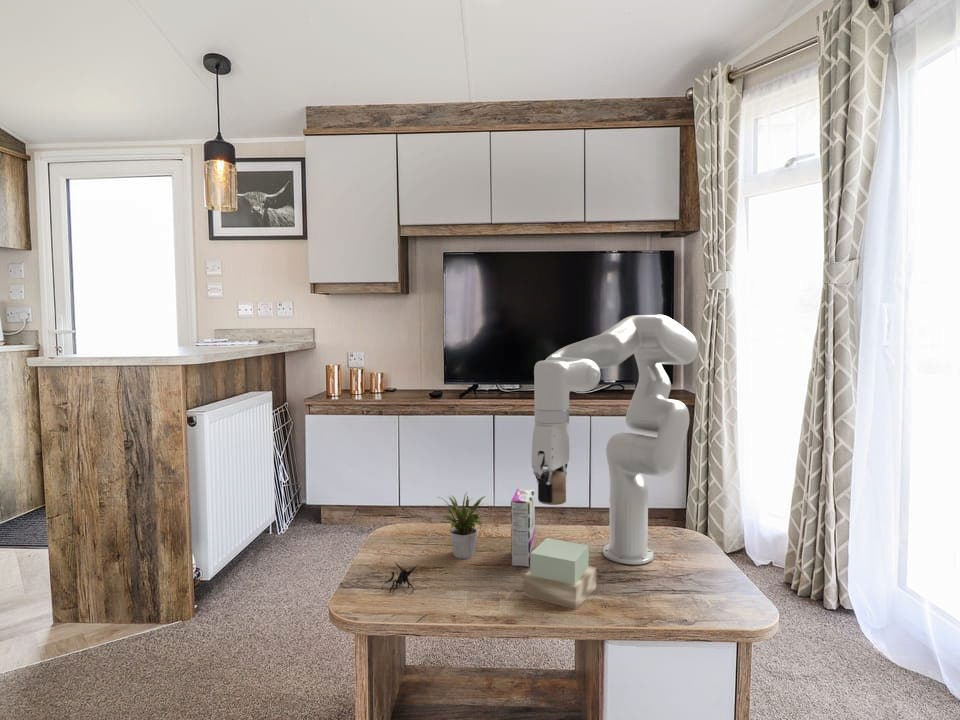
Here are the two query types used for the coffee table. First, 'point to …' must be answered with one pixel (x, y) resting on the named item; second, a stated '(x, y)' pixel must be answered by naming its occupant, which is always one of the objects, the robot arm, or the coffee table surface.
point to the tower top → (559, 561)
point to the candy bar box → (522, 527)
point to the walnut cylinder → (557, 488)
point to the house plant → (463, 528)
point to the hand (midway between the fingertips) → (552, 496)
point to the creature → (401, 578)
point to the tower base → (561, 589)
